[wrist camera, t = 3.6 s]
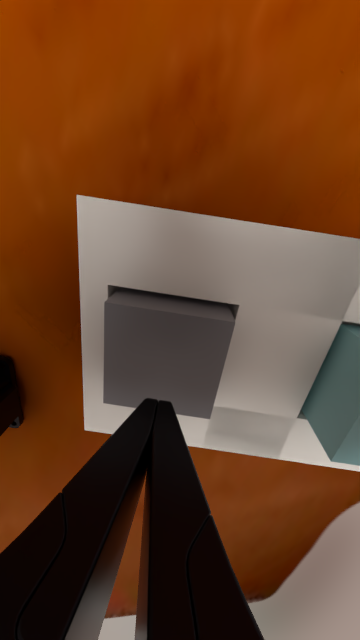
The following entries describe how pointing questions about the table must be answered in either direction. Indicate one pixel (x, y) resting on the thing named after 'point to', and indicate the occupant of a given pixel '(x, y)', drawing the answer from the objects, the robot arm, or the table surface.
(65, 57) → the table surface
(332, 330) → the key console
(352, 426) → the teal key
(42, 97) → the table surface
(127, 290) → the charcoal key
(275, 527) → the table surface
